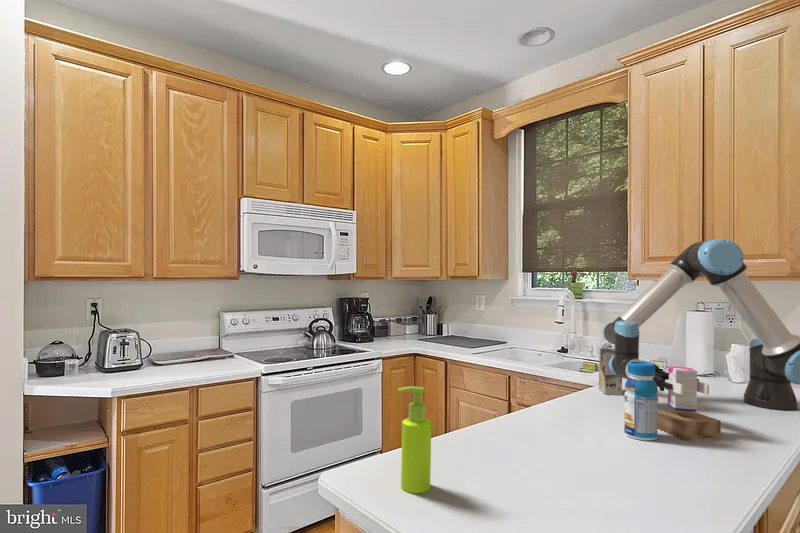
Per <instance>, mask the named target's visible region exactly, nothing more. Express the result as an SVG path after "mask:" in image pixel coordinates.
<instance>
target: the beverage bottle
mask: <svg viewBox="0 0 800 533" xmlns="http://www.w3.org/2000/svg"><path fill="white" fill-rule="evenodd" d="M652 363H653V362H650V363H648V361H646V362H640V361H631V362H628V374H629V375H630V377H629V378H628V379H626V381H625V383H624V388H625V392H624V393H623V394H624V395H623V398H624V429H623V430H624V434H625V436H627V437H629V438H630V439H633V440H638V441H646V442H647V441H649V442H650V441H656V440H657V439H658V429H657V414H658V406H659V405H658V403H659V397H658V396H659V395H657V393H658V391H659V387H658V386H657V385H656V383H655V381H654V380H653V378H652V377H654V376H655V365H656V364H655V363H653V364H652ZM654 364H655V365H654Z"/></svg>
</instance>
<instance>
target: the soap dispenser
mask: <svg viewBox="0 0 800 533" xmlns="http://www.w3.org/2000/svg"><path fill="white" fill-rule="evenodd" d="M397 392H399V393H400V394H401V393H406V392H409V393H410V392H412V401H411V402H410V403H408V417H407V418H404V419H403V420H402V422H401V423H402V424H401V428H402V429H401V464H400V467H401V469H400V470H401V472H400V474H401V475H400V488H401V489H402V491H404V492H406V493H408V494H409V493H410V494H415V495H416V494H423V493H427V492H428V491H430V490H431V467H432V466H431V465H432V464H431V461H432V460H431V459H432V457H431V456H432V420H430V419H428V418H426V404H425V403H424V402H422V396H423V395H422V393H425V392H426V389H425V387H424V386H415V385H413V386H409V385H408V386H403V387H398V388H397Z"/></svg>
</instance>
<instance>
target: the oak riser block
mask: <svg viewBox="0 0 800 533" xmlns="http://www.w3.org/2000/svg"><path fill="white" fill-rule="evenodd" d="M721 428H722V424H721V420H719V419H716V418H713V417H711V416H707V415H704V414H702V413H699V412H697V411H696V412H694V411H678V410H674V409H662V410H661V409H660V410H658V414H657V430H658V429H659V430H658V431H660V430H661V431H660V432H662V431H664V432H663V433H665V432H666V433H665V434H667V433H668V435H670V436H672V435H673V437H675V438H677V439H679V438H680V440H681V441H694V440H693V439H698V440H706V439H705V438H712V439H720V438H721V437H722V436H721V435H722V433H721V431H722V429H721Z"/></svg>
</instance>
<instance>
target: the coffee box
mask: <svg viewBox="0 0 800 533" xmlns="http://www.w3.org/2000/svg"><path fill="white" fill-rule="evenodd" d="M598 352H599V353H598V357H599V358H598V361H599V362H598V379H599V380H598V390H599V391H600V392H602V393H603V394H604V395H609V396H610V395H611V396H622V395H623V378H621V377H619V376H617V375H615V374H614V373H612V372H611V370H610V368H609V361H610V359H611V357H612V356H613V355H615V348H599V350H598Z"/></svg>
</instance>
